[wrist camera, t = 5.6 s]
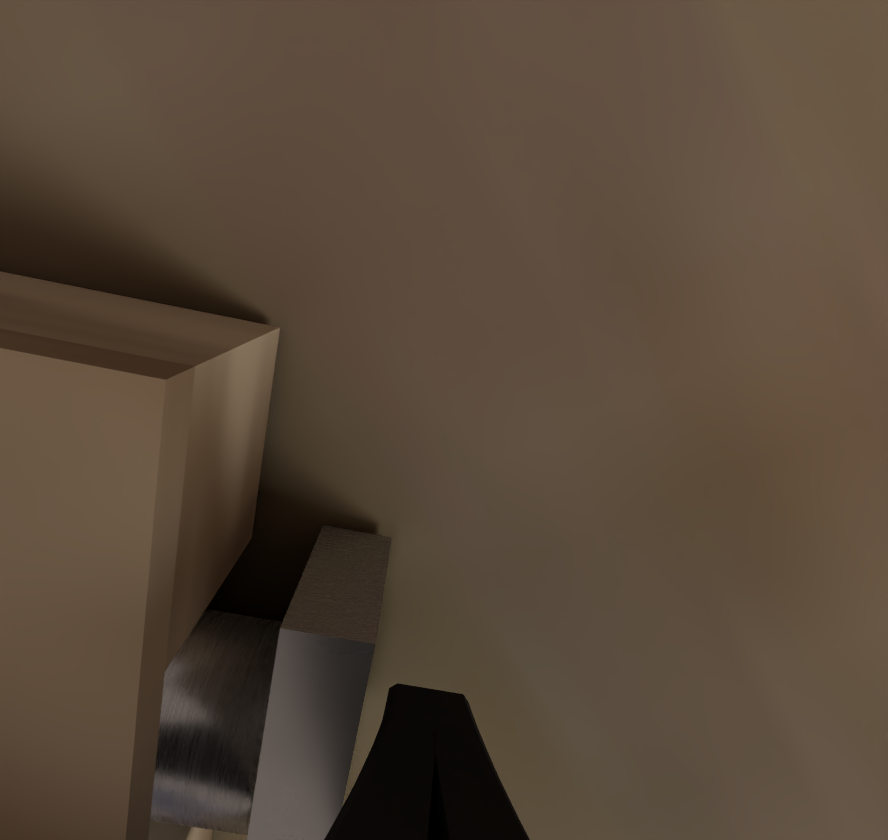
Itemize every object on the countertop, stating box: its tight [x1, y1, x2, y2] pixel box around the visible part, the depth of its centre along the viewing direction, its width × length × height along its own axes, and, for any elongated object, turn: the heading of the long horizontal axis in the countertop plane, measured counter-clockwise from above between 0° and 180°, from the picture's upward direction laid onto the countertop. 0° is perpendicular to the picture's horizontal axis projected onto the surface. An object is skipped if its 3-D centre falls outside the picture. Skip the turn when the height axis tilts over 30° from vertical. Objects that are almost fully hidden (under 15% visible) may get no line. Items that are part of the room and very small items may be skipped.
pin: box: [150, 525, 392, 840], centre depth 10 cm, size 8×6×3 cm
